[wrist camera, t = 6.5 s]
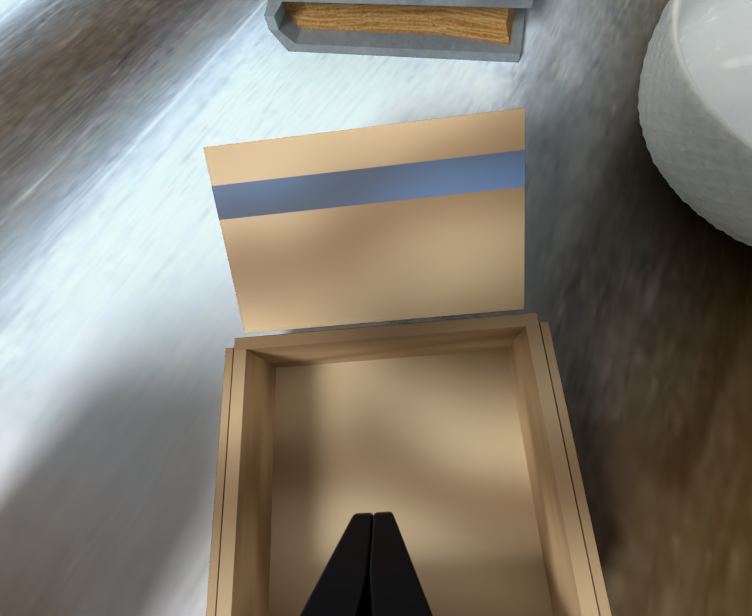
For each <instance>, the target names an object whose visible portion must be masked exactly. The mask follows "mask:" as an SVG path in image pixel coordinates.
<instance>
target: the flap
mask: <svg viewBox="0 0 752 616" xmlns="http://www.w3.org/2000/svg"><path fill="white" fill-rule="evenodd" d="M203 149H204V153H205V157H206V162H207V166H208V171H209V175H210V180H211V184H212V190H213V194H214V199H215V203H216V208H217V212H218V217H219V220H220V225H221V229H222V234H223V238H224V242H225V247H226V251H227V256H228V260H229V265H230V269H231V274H232V278H233V283H234V287H235V292H236V296H237V301H238V305H239V310H240V314H241V319H242V323H243V327H244V332H245V333H253V332H265V331H276V330H288V329H299V328H311V327H323V326H334V325H346V324H357V323H369V322H381V321H392V320H404V319H415V318H427V317H439V316H450V315H462V314H473V313H485V312H497V311H508V310H520V309H524V242H525V108H519V109H510V110H502V111H494V112H486V113H478V114H470V115H462V116H454V117H446V118H438V119H430V120H422V121H413V122H405V123H397V124H389V125H381V126H373V127H365V128H357V129H349V130H341V131H333V132H324V133H316V134H308V135H300V136H292V137H284V138H276V139H268V140H260V141H252V142H244V143H236V144H227V145H219V146H211V147H203Z"/></svg>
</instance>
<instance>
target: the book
mask: <svg viewBox="0 0 752 616" xmlns="http://www.w3.org/2000/svg"><path fill="white" fill-rule="evenodd" d="M533 2H534V0H268V4H267V8H266V11H265V15H264V16H265V19H266V22H267V25H268V28H269V30H270V31H271V32H272V33H273V34H274V36H275V37H276V38H277V39H278V40H279V41H280V42H281V43H282V45H283V46H284V47H285V48H286V49H287V50H288V51H294V52H314V53H335V54H355V55H376V56H396V57H417V58H437V59H458V60H478V61H498V62H519V58H520V54H521V45H522V36H523V27H524V18H525V9H526V8H532V6H533Z"/></svg>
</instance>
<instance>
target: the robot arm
mask: <svg viewBox="0 0 752 616" xmlns="http://www.w3.org/2000/svg"><path fill="white" fill-rule="evenodd" d="M299 616H433V614H432V612H431V609H430V607H429V604H428V602H427V599H426V596H425V594H424V591H423V589H422V586H421V584H420V581H419V578H418V576H417V573H416V571H415V568H414V566H413V563H412V560H411V558H410V555H409V553H408V550H407V548H406V545H405V542H404V540H403V537H402V535H401V532H400V530H399V527H398V525H397V522H396V519H395V517H394V514H393V513H392V512H390V511H388V512H376V513H374V515H373V514H372V513H370V512H368V513H356V514H354V515H353V516H352V518H351V520H350V522H349V524H348V526H347V527H346V529H345V531H344V533H343V535H342V537H341V539H340V540H339V542H338V544H337V546H336V548H335V550H334V552H333V553H332V555H331V557H330V559H329V561H328V563H327V565H326V567H325V568H324V570H323V572H322V574H321V576H320V578H319V580H318V581H317V583H316V585H315V587H314V589H313V591H312V593H311V595H310V596H309V598H308V600H307V602H306V604H305V606H304V608H303V609H302V611H301V613H300V615H299Z"/></svg>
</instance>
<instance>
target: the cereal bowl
mask: <svg viewBox="0 0 752 616" xmlns="http://www.w3.org/2000/svg"><path fill="white" fill-rule="evenodd" d="M638 96H639V103H638V109H639V113H640V115H639V119H640V125H641V127H642V129H643V137H644V138H645V140H646V147H647V148H648V150H649V152H650V153H651V157H652V161H653V163H654V164H655V165H656V166H657V167H658V169H659V172H660V173H661V174H662V176H663V177H664V178H665V179H666V180H667V182H668V184H669V186H670V187H671V188H672V189H674V191H675V193H676V194H678V195H679V196H680V198H681V200H682V201H683V202H685V203H687V204H688V205H689V206H690V207H691V208H692V210H694V211H695V212H696V213H697V214H698V215H699V216H701V217H703V218H705V219H706V220H707V221H708V222H709V223H710V224H712V225H714V227H715V228H716V229H718V230H721V231H724V232H725V233H726V234H728V235H730V236H731V237H732V238H734V239H735V240H737V241H741V242H743V243H745V244H746V245H749V246H752V0H669V2H668V3H667V5H666V7H665V8H664V10H663V11H662V14H661V18H660V20H659V22H658V24H657V25H656V27H655V30H654V33H653V36H652V38H651V40H650V42H649V45H648V49H647V53H646V56H645V58H644V60H643V69H642V73H641V76H640V87H639V92H638Z"/></svg>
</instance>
